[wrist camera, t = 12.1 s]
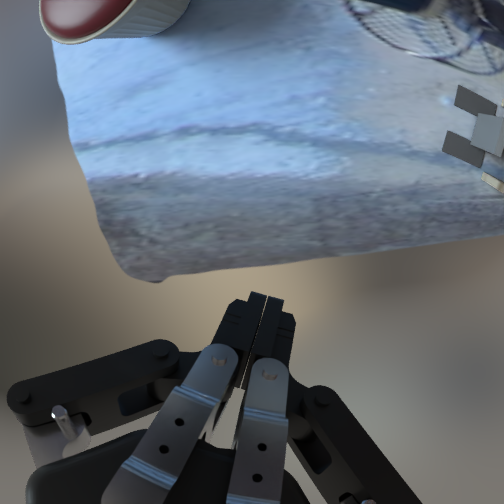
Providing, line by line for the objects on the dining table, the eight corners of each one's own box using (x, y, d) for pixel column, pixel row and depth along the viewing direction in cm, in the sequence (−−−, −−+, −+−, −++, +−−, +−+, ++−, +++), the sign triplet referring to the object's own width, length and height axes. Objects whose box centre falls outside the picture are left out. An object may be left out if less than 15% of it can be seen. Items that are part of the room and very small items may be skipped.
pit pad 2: (447, 130, 35) (448, 130, 35) (484, 148, 35) (485, 148, 34) (441, 150, 37) (442, 151, 37) (479, 167, 36) (479, 168, 36)
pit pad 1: (458, 85, 32) (459, 85, 31) (495, 104, 31) (496, 105, 31) (453, 104, 33) (454, 105, 33) (491, 123, 33) (492, 124, 32)
